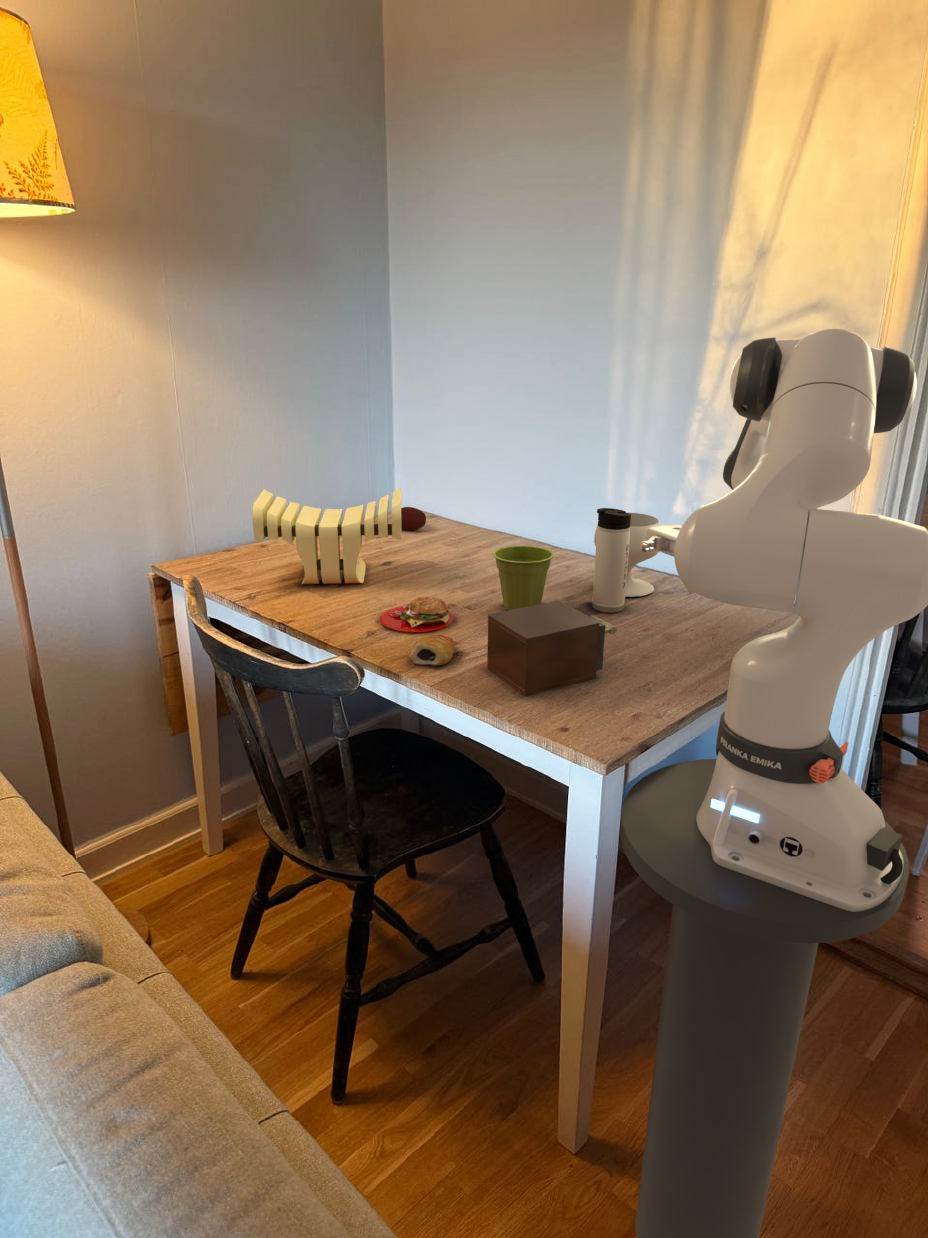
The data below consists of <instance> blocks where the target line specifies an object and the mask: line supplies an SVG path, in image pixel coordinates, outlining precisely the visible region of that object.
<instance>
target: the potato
mask: <svg viewBox="0 0 928 1238" xmlns="http://www.w3.org/2000/svg"><path fill="white" fill-rule="evenodd" d="M426 523H427V515H426V514H425V513H424V511H422V510H421V509H418V508H416V507H414V506H413V507H412V506H403V507H401V530H406V531H417V530H421V528H423V527H424V526H425V525H426Z"/></svg>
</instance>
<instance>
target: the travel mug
mask: <svg viewBox="0 0 928 1238" xmlns="http://www.w3.org/2000/svg"><path fill="white" fill-rule="evenodd" d="M596 513H597V515H598V516H597V525H596V528H597V539H596V546H595V556H594V557H595V558H594V573H593V587H592V588H593V589H592V603H591V604H592V605H591V606H592V608H593V609H594V610H596V611H598V612H600V613H606V614H607V613H608V614H609V613H610V614H615V613H620V612H622V611H623V610H624V609H625V604H626V603H625V600H626V596H625V591H626V578H627V565H628V553H629V540H630V527H631V526H630V522H631V514H629V513H630V512H627V511H626V510H623V509H618V508H612V507H611V508H610V507H600V508H597V509H596Z"/></svg>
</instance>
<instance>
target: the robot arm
mask: <svg viewBox="0 0 928 1238" xmlns="http://www.w3.org/2000/svg"><path fill="white" fill-rule="evenodd" d="M741 351H742V352H740V354H739V355H738V357H737V358H736V360H735V362H734V364H733V366H732V369H731V372H730V375H729V376H730V377H729V394H730V398H731V401H732V408H733V409H734V410H735V411H736V413H737V414H738V416H740V417H743V418H745V422H744V425H743V427H742V430H741V432H740V435H739V437H738V439H737V442H736V444H735V447H734V448H733V450H732V451H731V452H730V453H729V455H728V456H727V458H726V460H725V462H724V465H723V469H722V480H723V482H724V483H725V484H726V485H727V486H728V487H729V488H730V489H731V491H729V492H728V493H726V494H725V495H723V496H721V497H720V498H718V499H716V500H713V501H711V502H708V503H706V504H704V505H701V506H699V507H698V508H696V510H694V511H693V512H692V513H691V514H690V515H689V516H688V517H687V518H686V519H685V521H684V522H683V524H664V525H662V524H661V526H653V527H650V528H649V529H648V530H647V537H646V541H642V542H641V548H640V550H641V551H643V552H646V553H649V552H650V553H651V552H653V551H654V549H655V550H657V551H659V553H662V554H665V555H668V556H671V557H674V565H675V569H676V572H677V574H678V577H679V579H680V581H681V583H682V584H683V586H684V587H685V589H687V591H688V592H690V593H693V594H696V595H699V596H702V597H704V598H708V599H711V600H714V601H717V602H720V603H724V604H727V605H732V606H741V607H745V608H746V607H747V608H755V609H761V610H771V611H778V612H786V613H793V614H794V615H797V616H799V618H798V619H797V620H796V621H795V622H794V623H793V624H791V625H790V626H787V627H786V628H784V629H782V630H780V631H776V632H772V633H769V634H765V635H761V636H759V637H757V638H754V639H753V640H750V641H749V642H747V643H746V644H744V645H743V646H742V647H741V648H739V649H738V651H737V652H736V653H735V655H734V656H733V659H732V661H731V665H730V670H729V671H730V672H729V678H728V687H727V694H726V702H725V707H724V709H725V710H724V711H723V712H722V714H721V715H720V718H719V723H718V728H717V734H716V743H715V744H716V745H715V755H716V756H717V757H716V759H717V761H716V765H715V769H714V773H713V776H712V780H711V783H710V786H709V789H708V792H707V794H706V797H705V799H704V801H703V803H702V805H701V807H700V809H699V811H698V813H697V817H696V821H697V826H698V828H699V831H700V832H701V834H702V835H703V837H704V838H705V839H706V840H707V842H708V843H709V845H710V847H711V853H712V857H713V860H714V861H715V863H717V864H718V865H720V866H722V867H725V868H728V869H731V870H733V871H736V872H739V873H742V874H745V875H747V876H750V877H753V878H756V879H759V880H762V881H764V882H767V883H770V884H773V885H776V886H778V887H781V888H784V889H787V890H790V891H793V892H795V893H798V894H801V895H804V896H807V897H810V898H812V899H815V900H818V901H821V902H824V903H826V904H829V905H832V906H835V907H838V908H841V909H844V910H847V911H850V912H859V911H864V910H868V909H871V908H873V907H875V906H877V905H879V904H881V903H882V902H884V901H885V900H886V899H887V898H888V897H889V896H890V895H891V894H892V893H893V892H894V890H895V889H896V887H897V886H898V884H899V883H900V880H901V878H902V874H903V866H904V860H903V856H902V853H901V851H900V845H901V842H903V835H902V834H900V833H898V832H896V831H895V830H894V831H895V832H894V831H891V830H889V829H887V828H885V821H886V820H885V817H884V814H883V811H882V809H881V808H880V806H878V804H877V803H875V801H874V800H873V799H872V798H870V796H869V795H868V794H867V793H865V791H863V789H861V787H860V786H859V785H858V784H857V783H856V782H855V781H854V780H853V779H852V778H851V777H850V776H849V775H848V774H847V772H846V771H845V770H844V769H843V768H842V764H843V760H844V759H843V757H844V756H845V755H846V754H847V752H848V747H849V741H845V742H844V743H843V744H842V745H841V746H840V747H839V745H838V744H837V742H836V740H834V738H833V736H832V733H831V731H830V725H831V720H832V715H833V711H834V706H835V703H836V698H837V694H838V693H839V692H838V691H839V688H840V685H841V682H842V680H843V677H844V675H845V673H846V671H847V669H848V668H849V666H850V664H851V663H852V662H853V660H854V659H855V657H856V656H857V655H858V654H859V653H860V652H861V651H862V649H864V648H865V646H867V645H868V644H869V643H870V642H872V641H873V640H874V639H875V638H876V637H878V636H880V635H881V634H883V633H884V632H885V631H888V630H889V629H891V628H893V627H895V626H897V625H899V624H902V623H905V622H907V621H910V620H911V619H913V618H915V617H916V616H918V614H920V613H921V612H922V611H924V610H925V609H926V608H927V607H928V528H926V527H925V526H923V525H922V526H921V525H918V524H915V523H912V522H908V521H905V520H901V519H898V518H894V517H890V516H887V515H886V516H885V515H882V514H878V513H877V514H876V513H866V512H865V513H864V512H856V511H855V512H853V511H846V510H845V511H844V510H843V511H842V510H833V509H832V510H831V509H821V508H822V507H824V506H825V507H826V506H828V505H830V504H833V503H834V504H835V503H836V502H838V501H841V500H843V498H845V497H847V496H848V495H850V494H851V493H853V491H854V490H855V489H856V488H858V487H859V485H860V484H862V482H863V481H864V480H865V478H866V476H867V475H868V472H869V470H870V469H871V461H872V452H873V445H874V444H873V442H874V435H875V434H882V433H888V432H891V431H892V430H893V429H895V428H896V427H898V426H899V425H900V424H901V423H902V421H904V417H905V416H906V415H907V413H908V412H909V411H910V408H911V407H912V405H913V403H914V400H915V397H916V394H917V387H918V384H917V383H918V382H917V381H918V380H917V374H916V365H915V362H914V361H913V360H912V358H911V356H910V355H909V353H906V352H905V351H902V350H899V349H895V348H892V347H887V346H883V347H882V348H877V347H873V346H870V345H869V344H868V343H867V341H866V340H865V339H864V338H863V337H862V336H860V335H858V334H857V333H855V332H853V331H851V330H847V329H843V328H827V329H826V328H825V329H821V330H818V331H815V332H811V333H808V334H806V335H804V336H802V337H799V338H794V339H793V338H790V339H789V338H787V339H777V338H776V337H774V336H773V337H765V338H760V339H759V338H758V339H754V340H752V341H751V342H750V343H747V344H746V345H745V346H744V347H742V350H741ZM884 820H885V821H884Z"/></svg>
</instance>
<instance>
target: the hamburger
mask: <svg viewBox="0 0 928 1238" xmlns="http://www.w3.org/2000/svg"><path fill="white" fill-rule="evenodd" d="M454 617H455V616H454V615H453V614H452V612H450V611H449V606H448V605H447V603H446V602H445V601H444V600H443V599H440V598H437V597H431V596H418V597H416V598H414V599H413V600H411V601H410V602H409V603H408V604H406V605H402V606H396V607H393V608H390V609H388V610H386V611H384V612H383V613H382V614H381V615H380V616H379V622H380V623H381V624H382V625H383V626H384V627H386V628H389V629H391V630H395V631H399V632H409V633H421V632H431V631H435V630H440V629H443V628H445V627H447V626H449V625H450V624H452V622H453V621H454Z"/></svg>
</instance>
